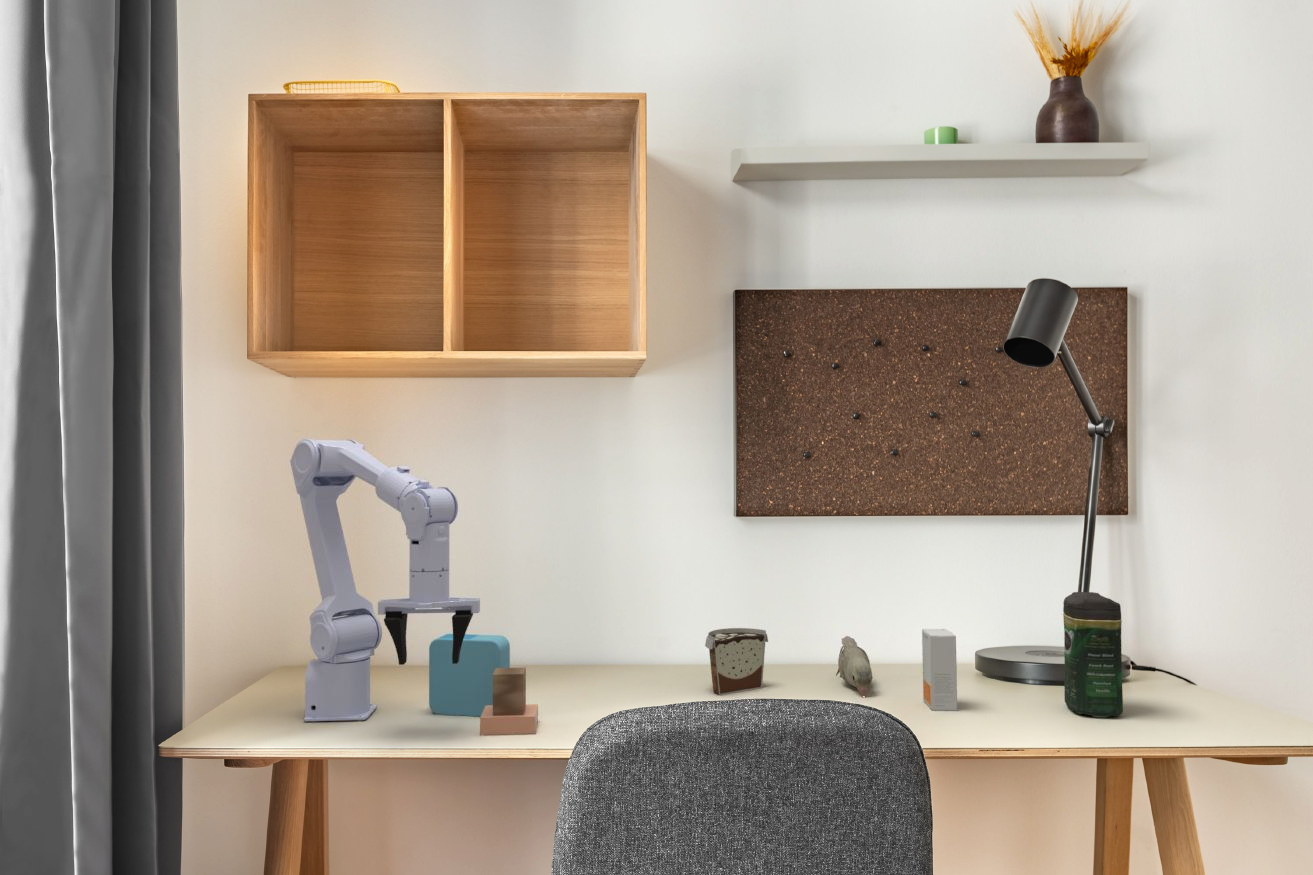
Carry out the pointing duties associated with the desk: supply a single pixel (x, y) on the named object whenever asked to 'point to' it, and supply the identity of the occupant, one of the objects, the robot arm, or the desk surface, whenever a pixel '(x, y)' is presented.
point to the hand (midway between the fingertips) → (429, 662)
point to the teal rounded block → (465, 673)
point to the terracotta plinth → (509, 722)
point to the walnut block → (509, 691)
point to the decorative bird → (854, 666)
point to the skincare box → (939, 669)
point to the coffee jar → (1093, 654)
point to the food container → (736, 659)
